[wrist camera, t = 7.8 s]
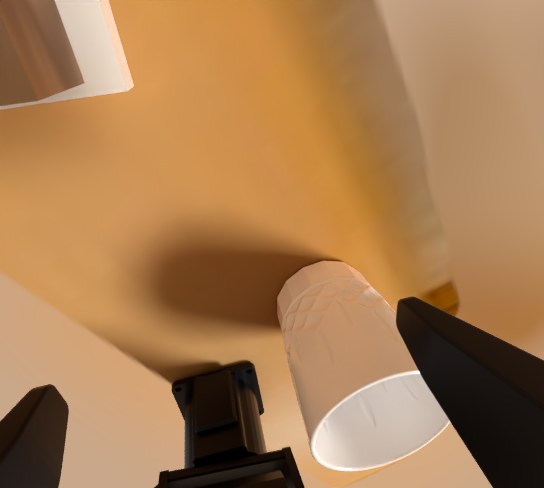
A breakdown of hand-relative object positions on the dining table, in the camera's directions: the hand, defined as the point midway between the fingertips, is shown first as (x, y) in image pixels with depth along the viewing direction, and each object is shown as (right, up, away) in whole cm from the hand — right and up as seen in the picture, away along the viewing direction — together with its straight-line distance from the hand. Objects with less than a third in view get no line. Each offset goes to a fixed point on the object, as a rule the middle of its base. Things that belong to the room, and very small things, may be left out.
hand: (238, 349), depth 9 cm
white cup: (+4, -1, +16) cm, 17 cm away
